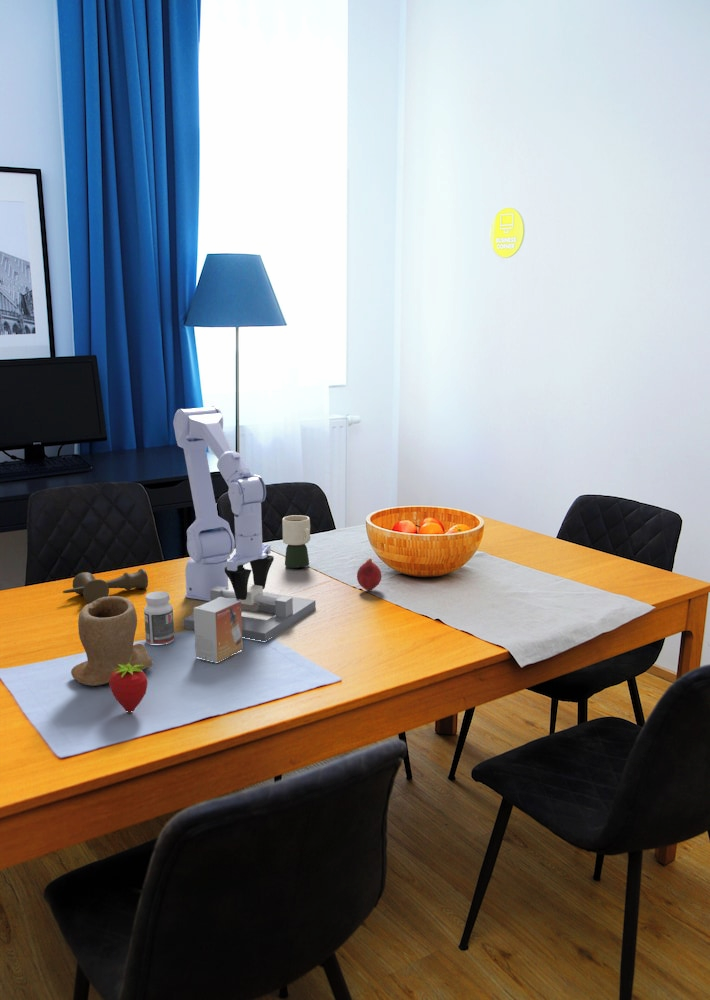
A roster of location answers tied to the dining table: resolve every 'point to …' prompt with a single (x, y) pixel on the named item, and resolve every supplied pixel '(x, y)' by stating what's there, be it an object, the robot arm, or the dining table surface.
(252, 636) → the grey piece
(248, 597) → the white notched u-block
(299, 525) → the character mug
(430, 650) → the dining table surface
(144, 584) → the kendama
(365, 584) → the onion
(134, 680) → the strawberry
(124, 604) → the stone cup
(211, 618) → the small box
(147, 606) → the pill bottle
